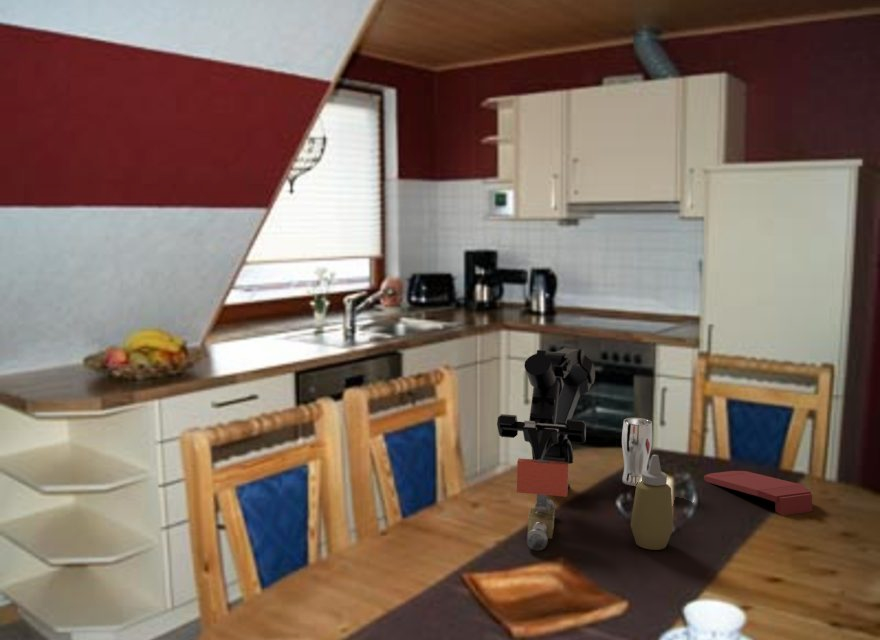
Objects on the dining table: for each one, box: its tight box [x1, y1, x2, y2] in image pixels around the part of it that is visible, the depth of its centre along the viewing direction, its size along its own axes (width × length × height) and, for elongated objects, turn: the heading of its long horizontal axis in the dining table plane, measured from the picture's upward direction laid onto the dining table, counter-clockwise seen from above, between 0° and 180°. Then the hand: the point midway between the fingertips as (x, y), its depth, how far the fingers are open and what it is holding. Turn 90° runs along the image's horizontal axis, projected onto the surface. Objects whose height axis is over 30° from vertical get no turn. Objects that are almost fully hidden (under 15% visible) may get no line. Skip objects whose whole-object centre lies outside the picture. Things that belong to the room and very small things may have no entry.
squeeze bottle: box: [629, 454, 674, 551], centre depth 154 cm, size 8×8×18 cm
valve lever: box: [516, 457, 570, 513], centre depth 160 cm, size 2×10×11 cm, turn 77°
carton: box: [703, 470, 813, 516], centre depth 184 cm, size 12×5×25 cm
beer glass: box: [621, 417, 653, 487], centre depth 190 cm, size 7×7×15 cm
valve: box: [526, 497, 555, 552], centre depth 161 cm, size 18×5×4 cm, turn 168°
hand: (537, 464), depth 167 cm, fingers closed
